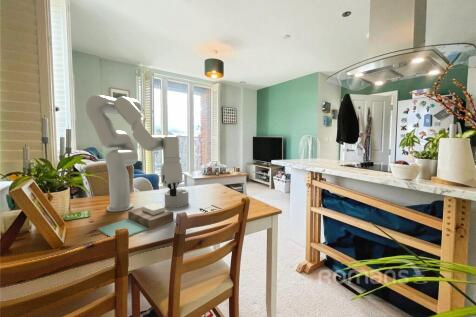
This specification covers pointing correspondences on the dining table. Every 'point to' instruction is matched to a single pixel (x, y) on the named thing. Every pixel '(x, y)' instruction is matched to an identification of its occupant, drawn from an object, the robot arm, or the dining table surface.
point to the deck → (150, 218)
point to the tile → (153, 208)
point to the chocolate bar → (210, 208)
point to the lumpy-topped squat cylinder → (177, 198)
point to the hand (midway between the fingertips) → (173, 195)
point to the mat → (127, 223)
